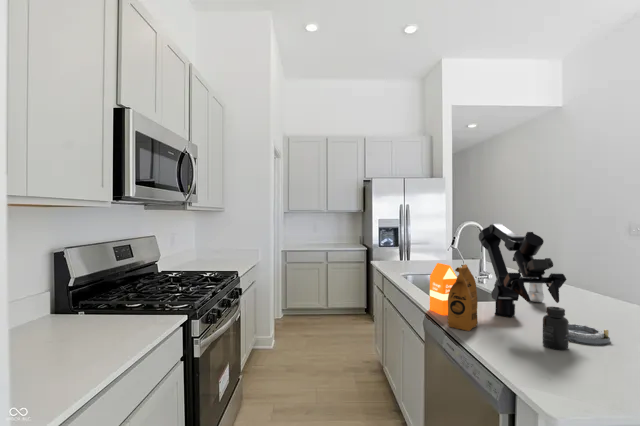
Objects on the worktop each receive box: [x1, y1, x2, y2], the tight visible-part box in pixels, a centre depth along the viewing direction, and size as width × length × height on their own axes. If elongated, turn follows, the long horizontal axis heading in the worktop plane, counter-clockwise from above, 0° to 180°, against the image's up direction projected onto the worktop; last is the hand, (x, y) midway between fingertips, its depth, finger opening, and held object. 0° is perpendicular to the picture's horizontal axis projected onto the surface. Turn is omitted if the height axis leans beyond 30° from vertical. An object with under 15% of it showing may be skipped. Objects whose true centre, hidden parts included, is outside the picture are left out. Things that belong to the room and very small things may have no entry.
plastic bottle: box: [527, 275, 545, 303], centre depth 168 cm, size 6×7×20 cm
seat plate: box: [569, 323, 611, 346], centre depth 121 cm, size 16×16×4 cm
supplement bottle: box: [542, 306, 570, 351], centre depth 112 cm, size 7×7×12 cm
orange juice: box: [429, 262, 458, 316], centre depth 151 cm, size 8×9×20 cm
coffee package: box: [447, 264, 478, 332], centre depth 132 cm, size 10×12×22 cm
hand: (543, 302), depth 118 cm, fingers open, 9 cm apart
